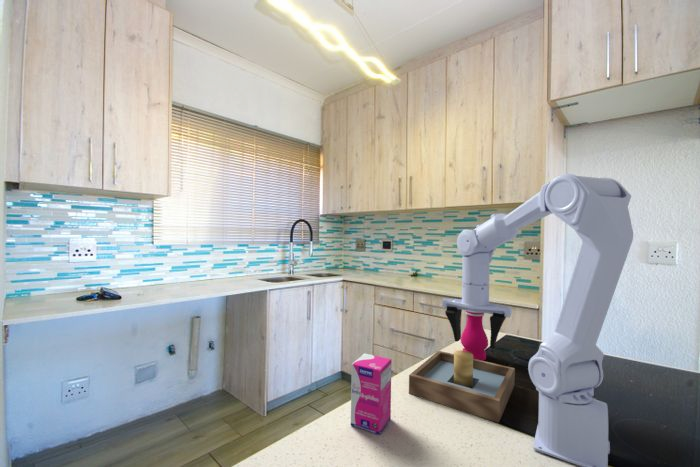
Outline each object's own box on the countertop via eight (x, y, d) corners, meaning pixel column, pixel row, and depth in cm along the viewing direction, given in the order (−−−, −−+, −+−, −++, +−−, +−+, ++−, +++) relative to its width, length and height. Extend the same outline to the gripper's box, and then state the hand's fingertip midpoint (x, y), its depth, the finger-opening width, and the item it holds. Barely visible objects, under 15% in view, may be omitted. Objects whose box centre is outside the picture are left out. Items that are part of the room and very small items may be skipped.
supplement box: (349, 426, 58) (350, 362, 58) (363, 410, 63) (364, 352, 63) (379, 436, 55) (380, 369, 55) (391, 419, 60) (392, 357, 60)
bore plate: (508, 385, 74) (509, 377, 74) (494, 418, 61) (494, 407, 61) (440, 368, 83) (440, 360, 83) (415, 392, 70) (415, 383, 70)
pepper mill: (491, 363, 87) (492, 289, 87) (463, 361, 88) (464, 287, 88) (484, 353, 94) (485, 284, 94) (458, 351, 95) (459, 283, 95)
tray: (514, 385, 74) (514, 368, 74) (498, 422, 60) (499, 401, 59) (438, 365, 85) (438, 350, 85) (408, 393, 70) (409, 375, 70)
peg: (474, 388, 72) (475, 353, 72) (469, 395, 69) (470, 358, 69) (456, 383, 75) (457, 349, 75) (451, 390, 72) (451, 354, 72)
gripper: (513, 284, 72) (512, 345, 72) (449, 278, 80) (448, 333, 80) (508, 288, 66) (507, 354, 66) (439, 281, 74) (438, 340, 74)
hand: (474, 343), depth 73 cm, fingers open, 7 cm apart
